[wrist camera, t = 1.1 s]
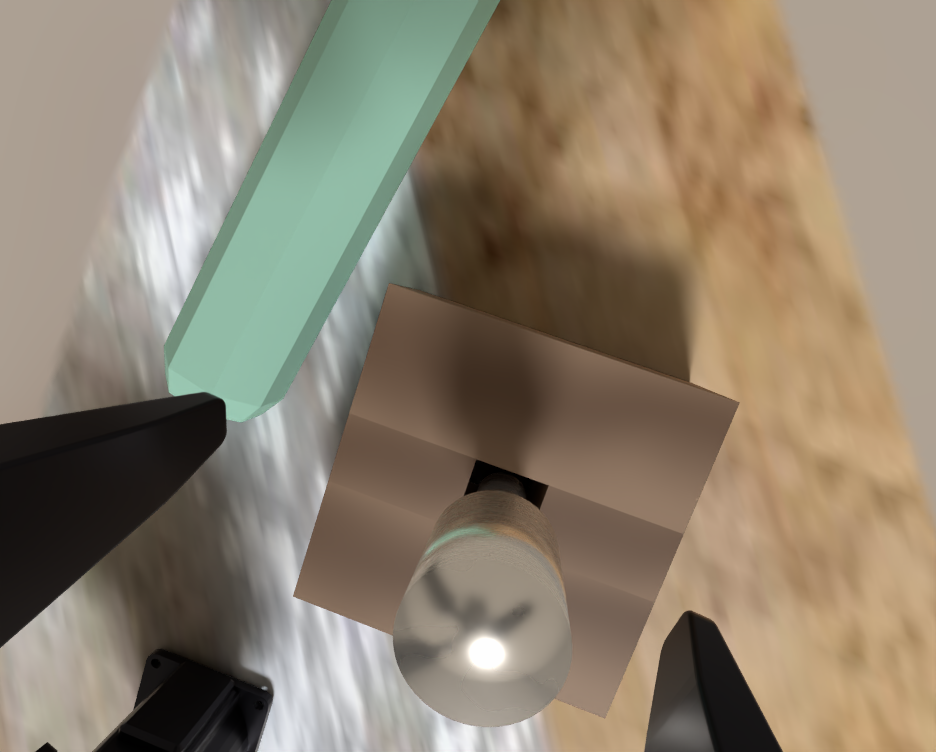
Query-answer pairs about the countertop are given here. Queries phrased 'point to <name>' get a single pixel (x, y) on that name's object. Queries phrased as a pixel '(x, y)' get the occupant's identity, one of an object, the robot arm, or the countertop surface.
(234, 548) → the countertop surface
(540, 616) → the silver metal peg
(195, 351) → the mint green octagonal rod
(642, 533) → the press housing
